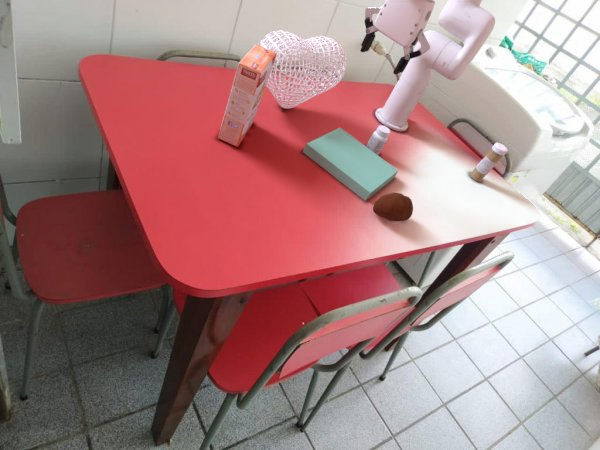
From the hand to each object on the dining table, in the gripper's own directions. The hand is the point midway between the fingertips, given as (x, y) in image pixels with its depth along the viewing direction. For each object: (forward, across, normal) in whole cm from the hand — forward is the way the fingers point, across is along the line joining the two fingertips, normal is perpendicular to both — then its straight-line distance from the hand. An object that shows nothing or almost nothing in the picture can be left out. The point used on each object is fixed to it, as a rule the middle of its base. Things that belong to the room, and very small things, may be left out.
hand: (380, 62), depth 96 cm
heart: (+29, +23, -6) cm, 38 cm away
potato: (+29, -24, +6) cm, 38 cm away
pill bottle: (+29, -5, -17) cm, 34 cm away
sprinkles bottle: (+29, -34, -45) cm, 63 cm away
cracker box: (+29, +21, +18) cm, 40 cm away
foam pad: (+29, -5, -3) cm, 30 cm away
